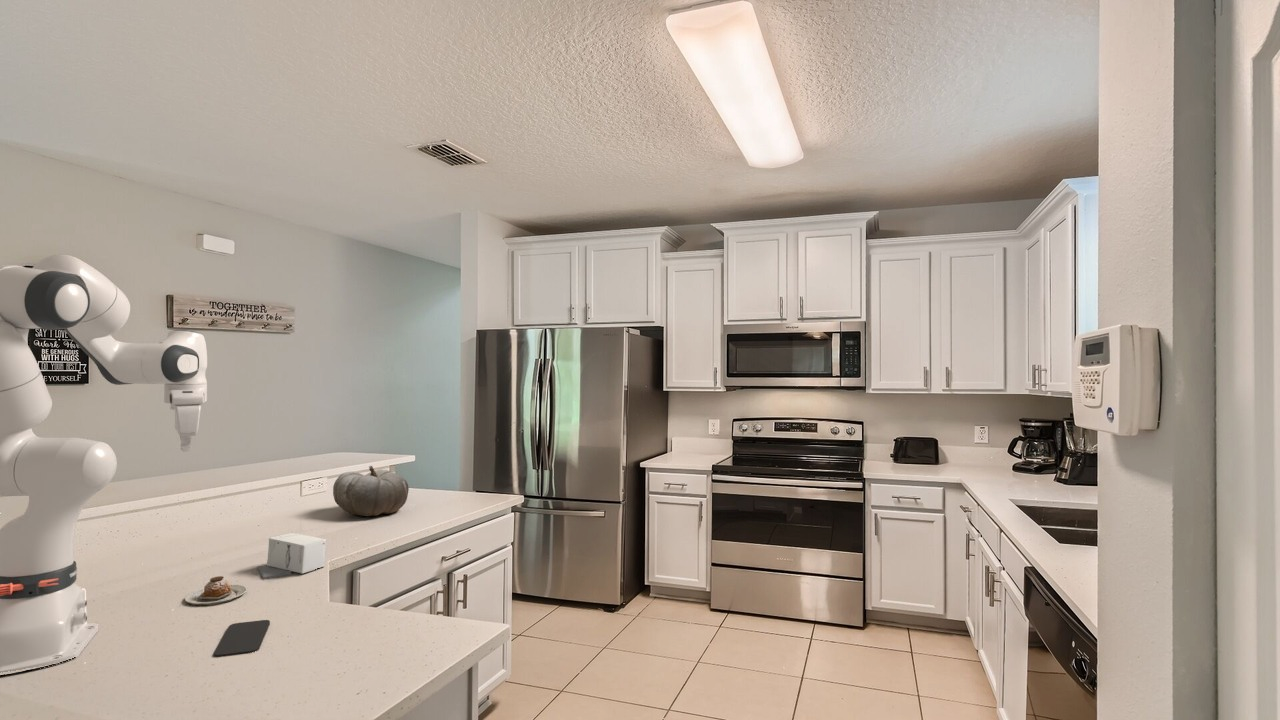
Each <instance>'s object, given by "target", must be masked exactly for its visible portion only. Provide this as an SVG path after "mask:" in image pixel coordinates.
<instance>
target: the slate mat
mask: <svg viewBox="0 0 1280 720" xmlns="http://www.w3.org/2000/svg"><path fill="white" fill-rule="evenodd" d="M257 571H258V572H259V574H260V575H261V577H262V579H263V580H268V579H274V578H279V577H286V576H291V575H292V571H289V570H285V569H280V568H276V567H271V566H267V564H265V565H258V566H257Z"/></svg>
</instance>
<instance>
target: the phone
mask: <svg viewBox="0 0 1280 720" xmlns="http://www.w3.org/2000/svg"><path fill="white" fill-rule="evenodd" d="M270 624H271V621H270V619H269V620H268V619H263V620H262V619H261V620H251V621H245V622H244V621H243V622H235V623H231V624H229V625H228V626H227V629H226V631H225V632H224V634H223V636H222V638H221V640H220V642H219V644H218V645H217V647H216V649H215V651H214V653H213V657H215V658H220V657H222V656H223V657H230V656H237V655H244V654H245V655H246V654H252V652H253V653H255V651H256V652H258V651H259V650H260V648H261V647H262V644H263V641H264V639H265V637H266V634H267V632H268V630H269V627H270Z"/></svg>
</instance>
